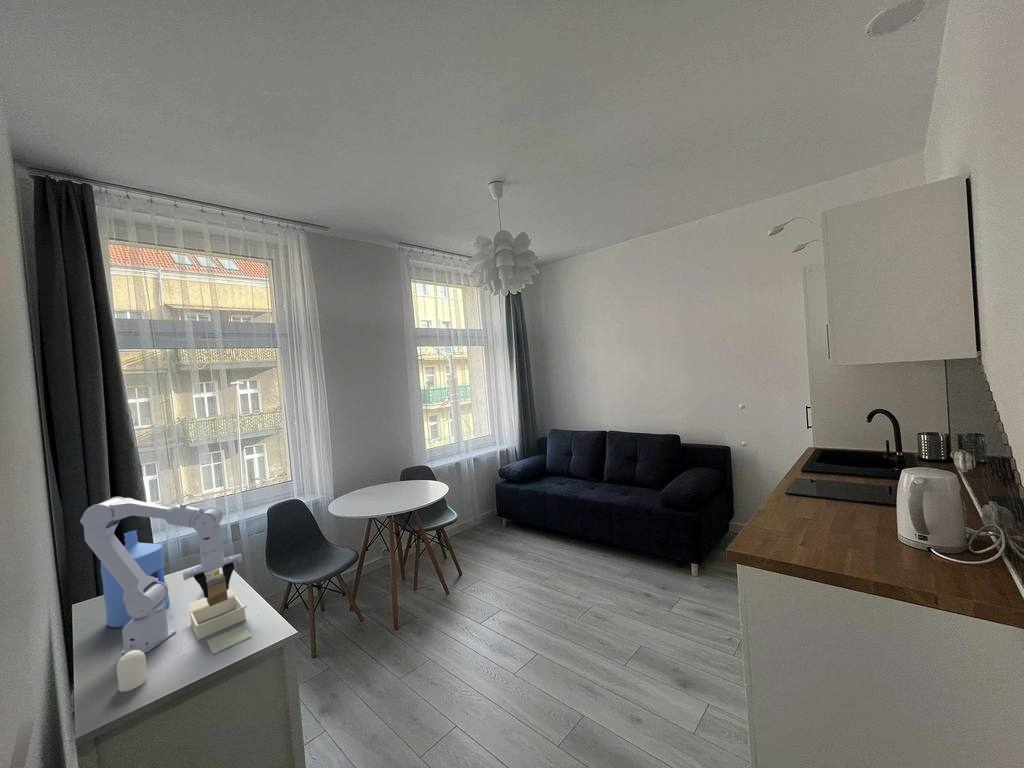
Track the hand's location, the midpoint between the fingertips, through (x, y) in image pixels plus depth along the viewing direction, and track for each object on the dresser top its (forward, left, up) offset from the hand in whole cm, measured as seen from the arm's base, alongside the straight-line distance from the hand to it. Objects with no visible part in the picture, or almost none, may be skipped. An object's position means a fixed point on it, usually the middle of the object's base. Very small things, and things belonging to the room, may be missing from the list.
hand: (216, 592), depth 124 cm
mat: (-8, -10, -10) cm, 16 cm away
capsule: (-24, +3, -10) cm, 26 cm away
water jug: (+8, +37, -10) cm, 39 cm away
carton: (+1, +2, -10) cm, 10 cm away
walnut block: (0, 0, -2) cm, 3 cm away
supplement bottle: (+23, +24, -10) cm, 35 cm away
